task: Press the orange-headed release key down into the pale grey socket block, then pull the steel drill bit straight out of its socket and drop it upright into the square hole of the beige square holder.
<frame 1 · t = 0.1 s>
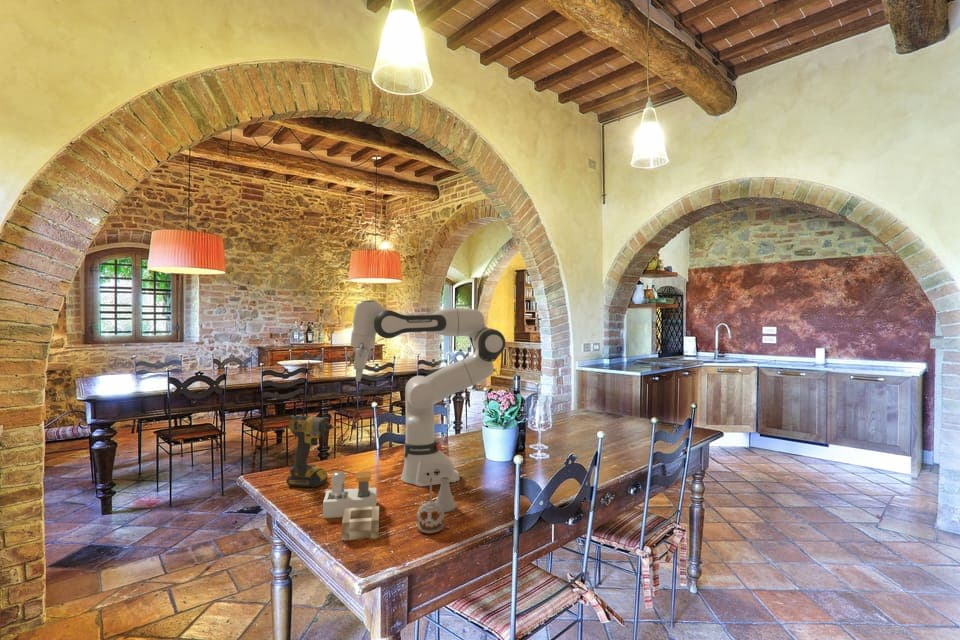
hand: (358, 379, 177), 39 cm above the table, tool pointing down, fingers open, 8 cm apart
beige square holder: (361, 531, 137), on the table
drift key: (363, 485, 153), point 8 cm above the table, slide at 0.0 cm
socket block: (350, 509, 152), on the table
cordless drill: (313, 485, 174), on the table
decorative ornament: (430, 529, 139), on the table
flask: (444, 509, 154), on the table
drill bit: (337, 510, 151), resting in socket block
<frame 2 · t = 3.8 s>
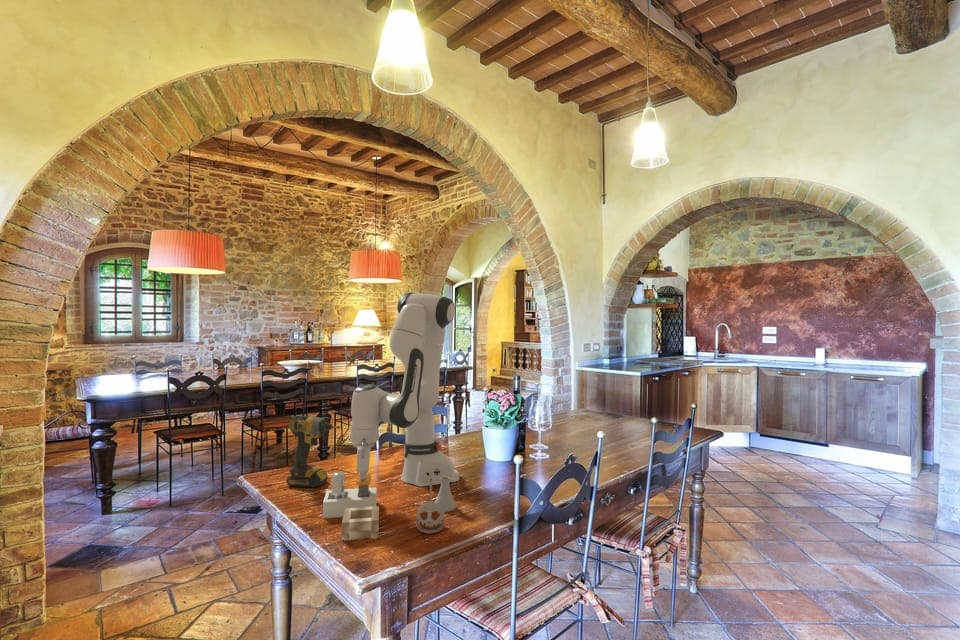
hand: (363, 478, 152), 10 cm above the table, tool pointing down, fingers closed, pressing on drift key
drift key: (363, 489, 153), point 6 cm above the table, slide at 1.1 cm, touching gripper
everything else where it was.
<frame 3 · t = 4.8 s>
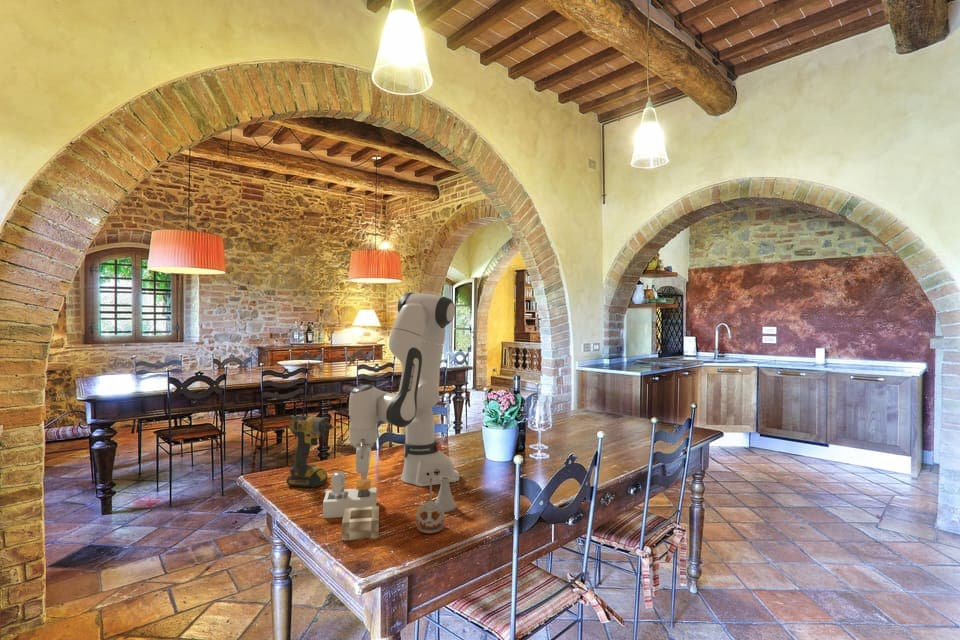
hand: (364, 477, 153), 10 cm above the table, tool pointing down, fingers closed
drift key: (363, 493, 153), point 5 cm above the table, slide at 2.6 cm
everything else where it was.
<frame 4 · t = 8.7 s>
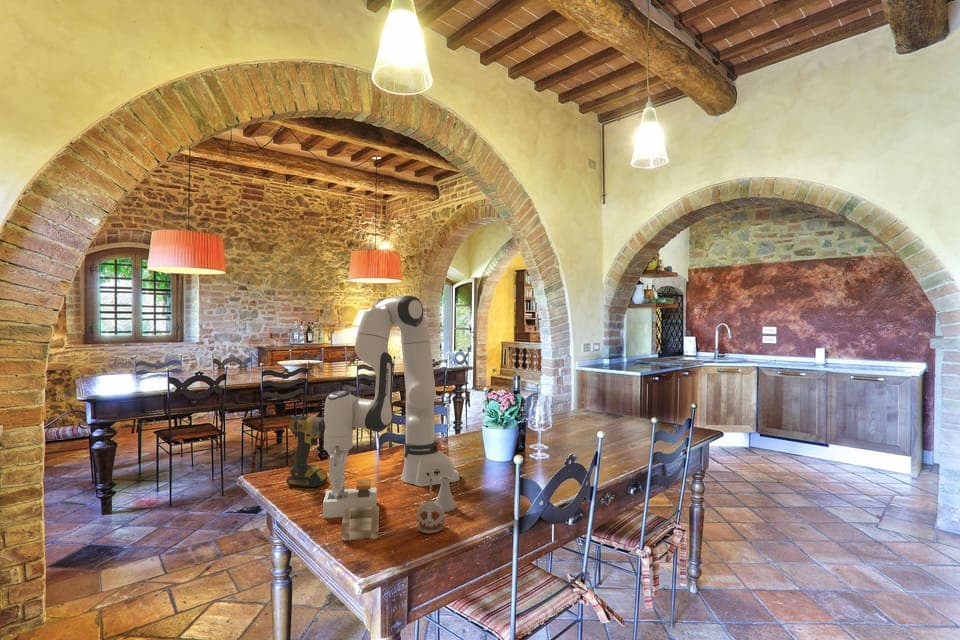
hand: (338, 485, 151), 8 cm above the table, tool pointing down, fingers closed on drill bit, 4 cm apart
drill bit: (337, 510, 151), resting in socket block, touching gripper
everything else where it was.
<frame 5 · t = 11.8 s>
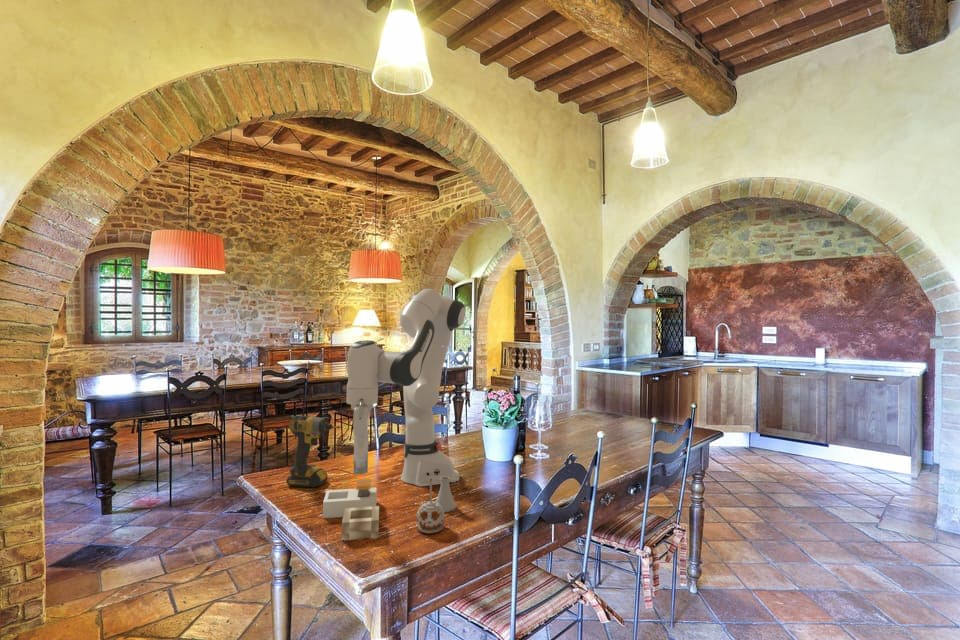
hand: (361, 444, 137), 25 cm above the table, tool pointing down, fingers closed on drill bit, 4 cm apart
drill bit: (360, 472, 137), point 17 cm above the table, touching gripper
everything else where it was.
when the fingers open (10 cm above the table, at t = 15.1 s): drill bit drops 2 cm, resting in beige square holder.
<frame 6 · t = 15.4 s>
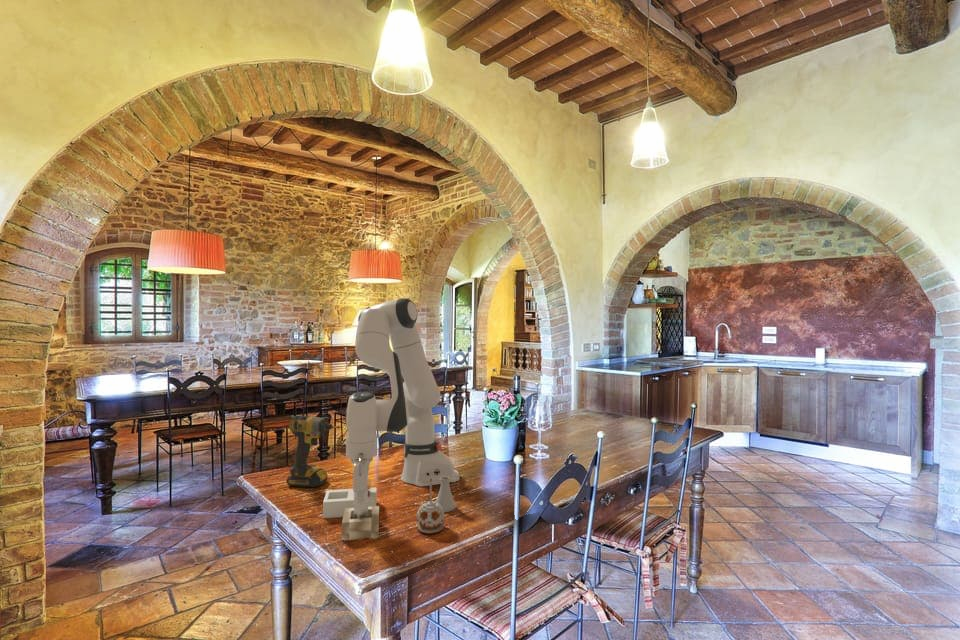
hand: (361, 496, 137), 10 cm above the table, tool pointing down, fingers open, 7 cm apart
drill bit: (360, 531, 137), resting in beige square holder
everything else where it was.
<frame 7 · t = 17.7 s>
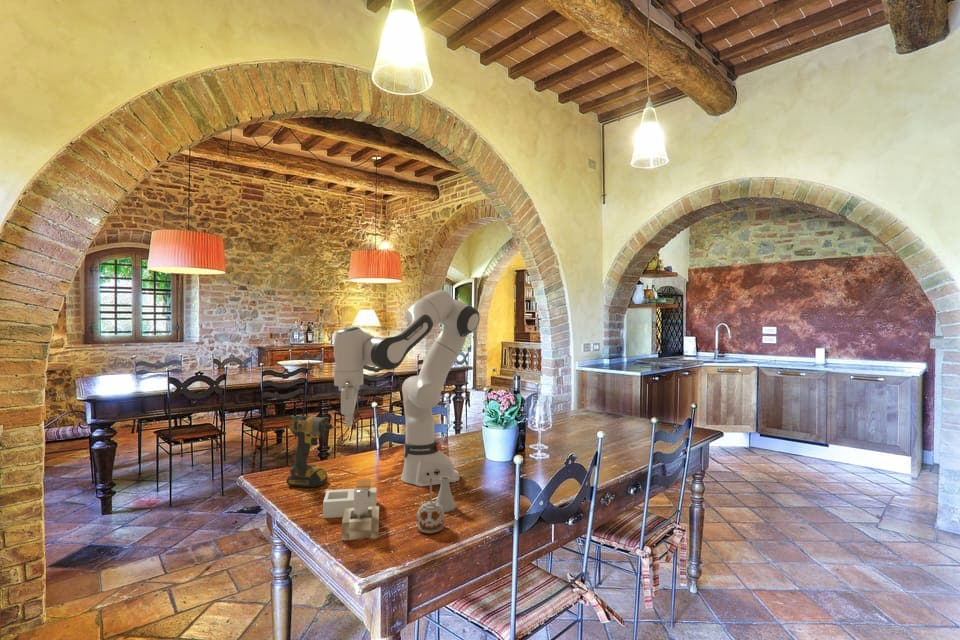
hand: (349, 423, 148), 29 cm above the table, tool pointing down, fingers open, 8 cm apart
nothing on the table moved.
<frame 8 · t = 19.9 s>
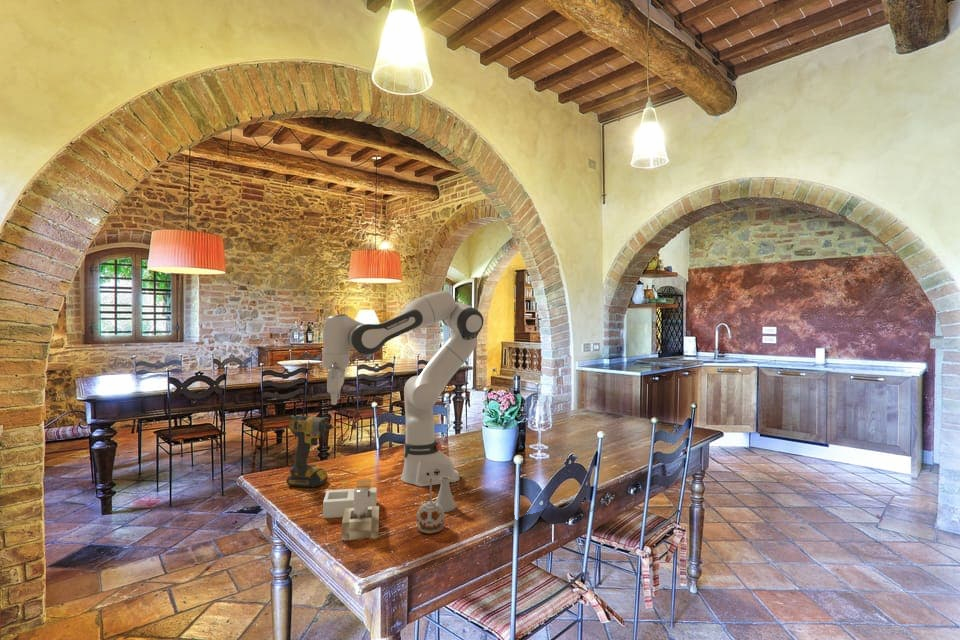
hand: (335, 401, 161), 33 cm above the table, tool pointing down, fingers open, 8 cm apart
nothing on the table moved.
at the end: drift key slide at 2.6 cm; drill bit 0.1 cm off-centre on the beige square holder, point 0.0 cm above the beige square holder's base; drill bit tilted 0° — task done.
